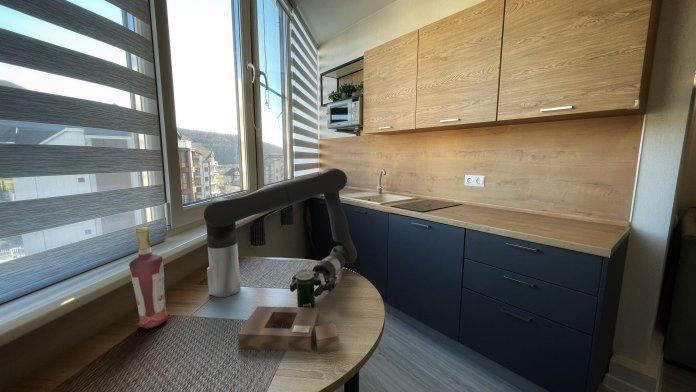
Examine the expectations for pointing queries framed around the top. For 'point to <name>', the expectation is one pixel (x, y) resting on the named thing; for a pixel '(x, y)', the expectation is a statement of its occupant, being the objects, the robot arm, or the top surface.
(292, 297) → the top surface
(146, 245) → the liquor
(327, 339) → the walnut block
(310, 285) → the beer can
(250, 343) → the socket block
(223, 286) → the robot arm
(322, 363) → the top surface
